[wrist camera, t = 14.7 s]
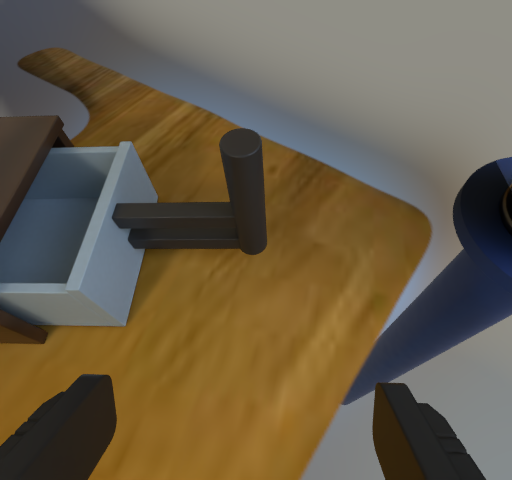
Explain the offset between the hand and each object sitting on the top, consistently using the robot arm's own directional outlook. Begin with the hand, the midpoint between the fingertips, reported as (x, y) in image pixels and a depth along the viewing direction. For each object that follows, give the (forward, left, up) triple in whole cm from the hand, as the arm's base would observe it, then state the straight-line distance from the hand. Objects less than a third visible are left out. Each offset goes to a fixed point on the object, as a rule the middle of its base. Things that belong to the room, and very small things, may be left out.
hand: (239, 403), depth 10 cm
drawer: (+11, -11, -10) cm, 18 cm away
